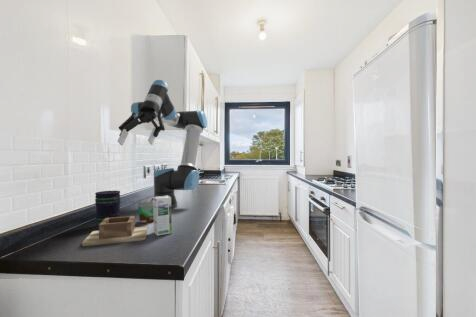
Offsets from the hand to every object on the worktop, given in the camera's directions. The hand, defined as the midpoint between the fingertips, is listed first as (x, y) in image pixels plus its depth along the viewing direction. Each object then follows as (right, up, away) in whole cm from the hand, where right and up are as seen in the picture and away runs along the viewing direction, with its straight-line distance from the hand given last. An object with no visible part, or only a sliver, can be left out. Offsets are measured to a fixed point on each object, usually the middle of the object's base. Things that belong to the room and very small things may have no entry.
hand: (134, 142), depth 98 cm
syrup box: (+12, -36, -1) cm, 38 cm away
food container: (+1, -36, +16) cm, 40 cm away
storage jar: (-16, -36, +10) cm, 41 cm away
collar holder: (-4, -36, -6) cm, 37 cm away
